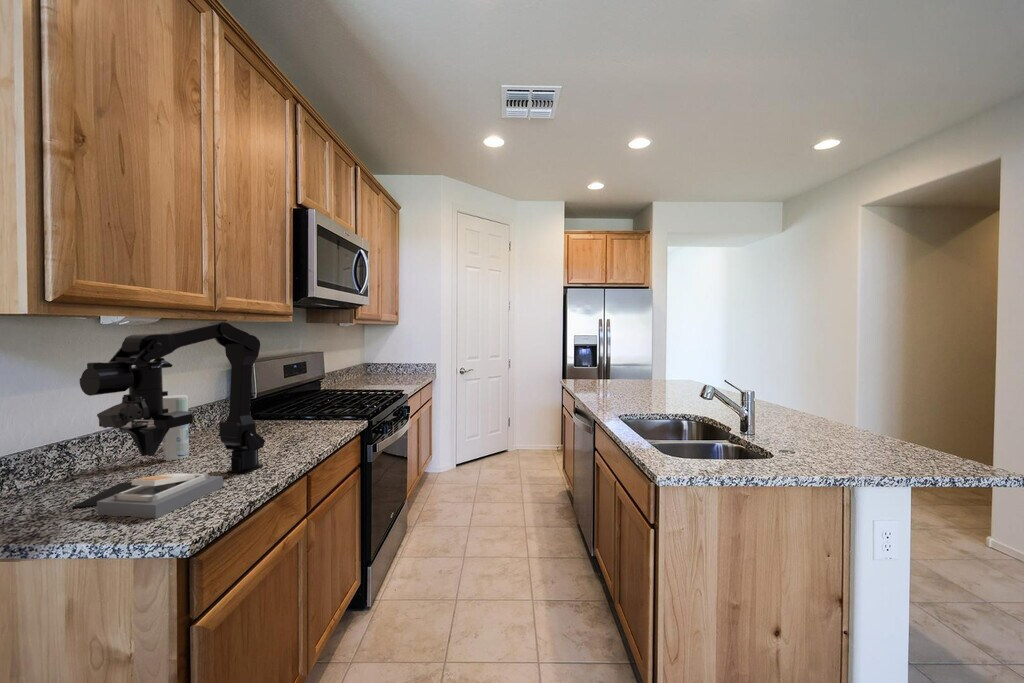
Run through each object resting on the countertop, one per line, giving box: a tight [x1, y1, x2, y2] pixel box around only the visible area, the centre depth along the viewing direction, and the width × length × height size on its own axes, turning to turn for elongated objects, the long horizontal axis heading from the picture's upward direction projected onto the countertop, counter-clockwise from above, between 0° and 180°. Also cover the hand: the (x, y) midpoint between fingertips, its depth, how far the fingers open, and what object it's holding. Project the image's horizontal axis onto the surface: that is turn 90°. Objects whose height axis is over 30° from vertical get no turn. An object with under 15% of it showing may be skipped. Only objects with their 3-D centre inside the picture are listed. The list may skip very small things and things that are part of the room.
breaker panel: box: [96, 472, 224, 520], centre depth 95 cm, size 17×15×4 cm
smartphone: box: [71, 481, 140, 510], centre depth 98 cm, size 7×1×15 cm
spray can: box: [162, 394, 190, 462], centre depth 126 cm, size 6×6×20 cm
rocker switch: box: [131, 472, 196, 486], centre depth 95 cm, size 10×6×1 cm, turn 172°
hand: (148, 455), depth 91 cm, fingers closed
